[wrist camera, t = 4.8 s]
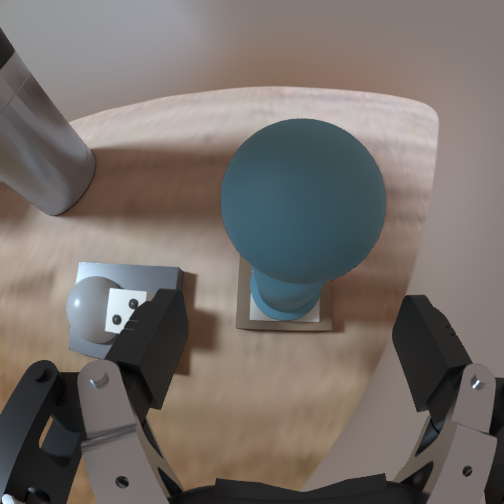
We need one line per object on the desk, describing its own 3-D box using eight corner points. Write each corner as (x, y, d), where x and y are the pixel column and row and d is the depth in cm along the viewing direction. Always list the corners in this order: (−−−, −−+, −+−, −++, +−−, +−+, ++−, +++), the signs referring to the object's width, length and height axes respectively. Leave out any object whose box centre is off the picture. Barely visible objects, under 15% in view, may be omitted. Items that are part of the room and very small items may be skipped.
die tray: (86, 350, 21) (45, 348, 16) (96, 270, 24) (59, 251, 18) (181, 369, 20) (152, 377, 15) (189, 275, 23) (163, 254, 17)
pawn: (249, 319, 18) (181, 255, 5) (253, 253, 20) (214, 83, 6) (319, 321, 18) (436, 262, 4) (319, 255, 20) (389, 93, 6)
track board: (237, 328, 20) (235, 327, 18) (249, 147, 25) (248, 137, 23) (328, 330, 19) (332, 329, 18) (320, 148, 24) (321, 139, 23)
